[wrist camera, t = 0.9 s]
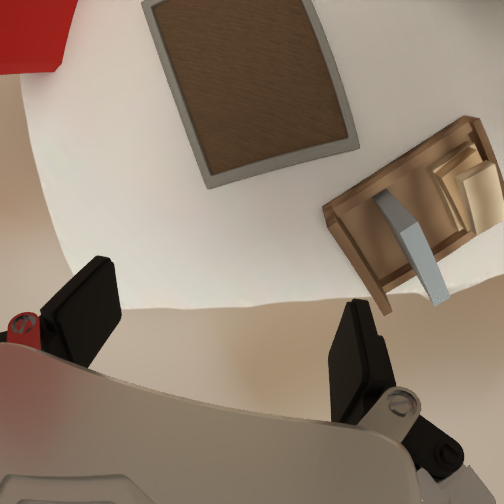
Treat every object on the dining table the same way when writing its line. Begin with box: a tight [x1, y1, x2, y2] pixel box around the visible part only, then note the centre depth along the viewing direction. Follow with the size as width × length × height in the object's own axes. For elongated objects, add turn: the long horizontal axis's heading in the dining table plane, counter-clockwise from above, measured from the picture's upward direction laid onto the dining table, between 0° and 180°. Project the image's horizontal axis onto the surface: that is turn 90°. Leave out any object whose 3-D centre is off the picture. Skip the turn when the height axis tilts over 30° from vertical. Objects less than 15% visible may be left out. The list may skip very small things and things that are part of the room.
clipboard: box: [141, 0, 360, 189], centre depth 30 cm, size 19×2×30 cm
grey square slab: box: [373, 189, 450, 306], centre depth 31 cm, size 2×10×11 cm, turn 38°
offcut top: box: [455, 160, 504, 235], centre depth 27 cm, size 5×7×2 cm
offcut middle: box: [434, 147, 483, 232], centre depth 29 cm, size 6×8×2 cm
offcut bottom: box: [426, 141, 477, 231], centre depth 31 cm, size 7×9×2 cm
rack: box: [322, 116, 504, 316], centre depth 32 cm, size 23×14×7 cm, turn 128°
